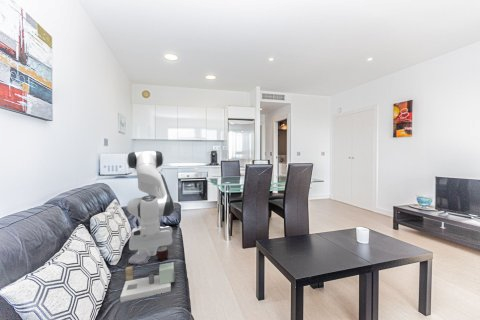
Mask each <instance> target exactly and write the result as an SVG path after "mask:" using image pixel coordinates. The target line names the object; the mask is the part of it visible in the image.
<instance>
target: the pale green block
mask: <svg viewBox="0 0 480 320" xmlns="http://www.w3.org/2000/svg"><path fill="white" fill-rule="evenodd" d="M174 263H175V262H174V261H172V262H167V263H161V264H159V268H158V275H159V278H160V284H165V283H170V282H171V283H173V282H175V266H174V265H175V264H174Z"/></svg>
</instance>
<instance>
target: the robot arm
mask: <svg viewBox="0 0 480 320" xmlns="http://www.w3.org/2000/svg"><path fill="white" fill-rule="evenodd" d="M164 160H165V159H164V155H163V153H162V152H161V151H158V150H154V151H153V150H143V151H136V152H135V151H132V152H129V153H128V154H127V157H126V163H127V165H128V168H130V169H136V176H137V188H138V189H139V191H140V192H143V193H146V194H147V195H145V196H142V197H137V198H132V199H130V200H129V201H128V203H127V205H126V209H127V212H128V213H129V214H130V215H132V216H134V217H135V218H136V219H137V221H138V223H139V225H138V226H136V227H134V228H133V229H132V230H131V231H130V235H131V236H130V238H129V242H128V244H129V245H128V249H129V250H130V251H136V252H135V254H143V253H149V256H150V257H153V256H157V255H156V254H157V253H156V251H157V248H158V246H169V245H172V244H173V236H172V234H173V228H172V227H171V226H169V225H166V226H161V224H160V222H161V221H160V218H159V217H170V216H171V215H172V214H173V213H174V211H175V204H174V200H173V198H172V196H171V193H170V191H169V188H168V185H167V182H166V178H165V177H164V175H163V173H160V172H159V171H158V168H159V167H161V166H163V163H164ZM157 187H158V188H159V190H160V192H159V190H158V188H157Z"/></svg>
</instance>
